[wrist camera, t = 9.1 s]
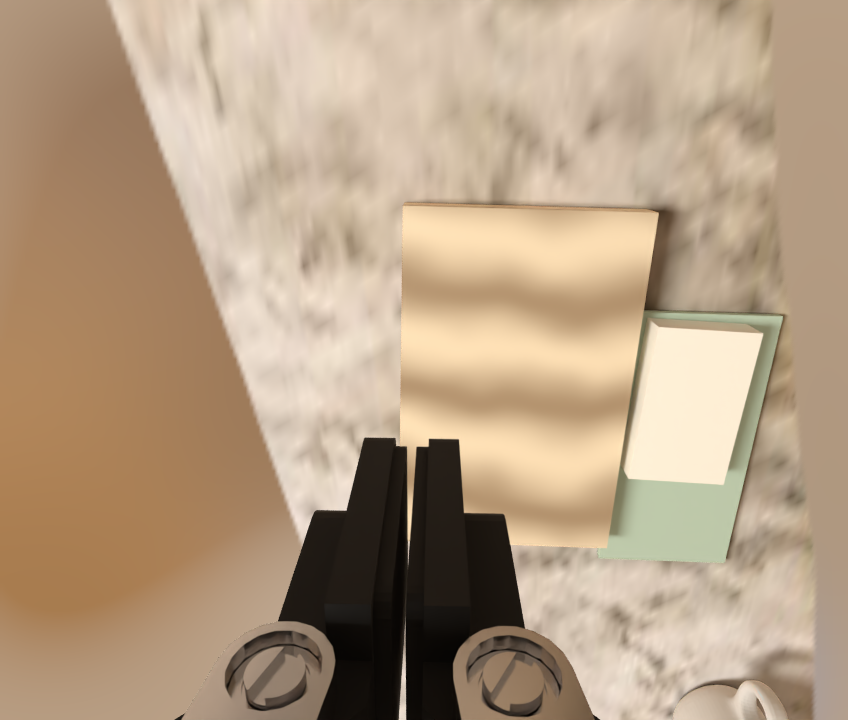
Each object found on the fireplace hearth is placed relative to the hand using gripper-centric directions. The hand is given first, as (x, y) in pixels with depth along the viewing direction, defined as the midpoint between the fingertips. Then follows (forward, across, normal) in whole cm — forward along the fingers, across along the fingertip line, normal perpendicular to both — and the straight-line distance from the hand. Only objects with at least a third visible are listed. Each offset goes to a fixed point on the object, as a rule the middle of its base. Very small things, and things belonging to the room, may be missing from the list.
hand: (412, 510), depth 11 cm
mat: (+26, -17, +13) cm, 34 cm away
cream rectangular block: (+26, -16, +9) cm, 32 cm away
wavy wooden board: (+26, -5, +9) cm, 28 cm away
